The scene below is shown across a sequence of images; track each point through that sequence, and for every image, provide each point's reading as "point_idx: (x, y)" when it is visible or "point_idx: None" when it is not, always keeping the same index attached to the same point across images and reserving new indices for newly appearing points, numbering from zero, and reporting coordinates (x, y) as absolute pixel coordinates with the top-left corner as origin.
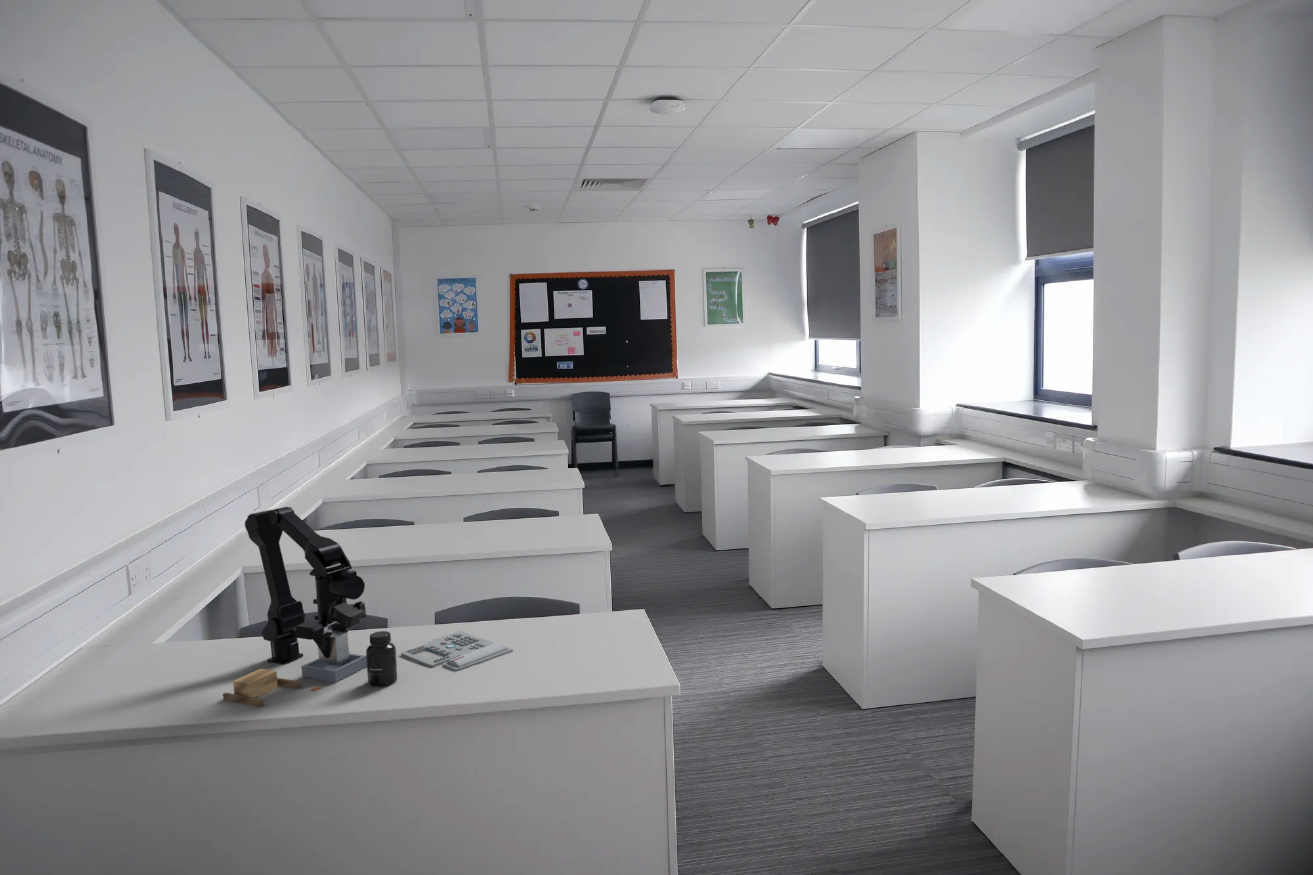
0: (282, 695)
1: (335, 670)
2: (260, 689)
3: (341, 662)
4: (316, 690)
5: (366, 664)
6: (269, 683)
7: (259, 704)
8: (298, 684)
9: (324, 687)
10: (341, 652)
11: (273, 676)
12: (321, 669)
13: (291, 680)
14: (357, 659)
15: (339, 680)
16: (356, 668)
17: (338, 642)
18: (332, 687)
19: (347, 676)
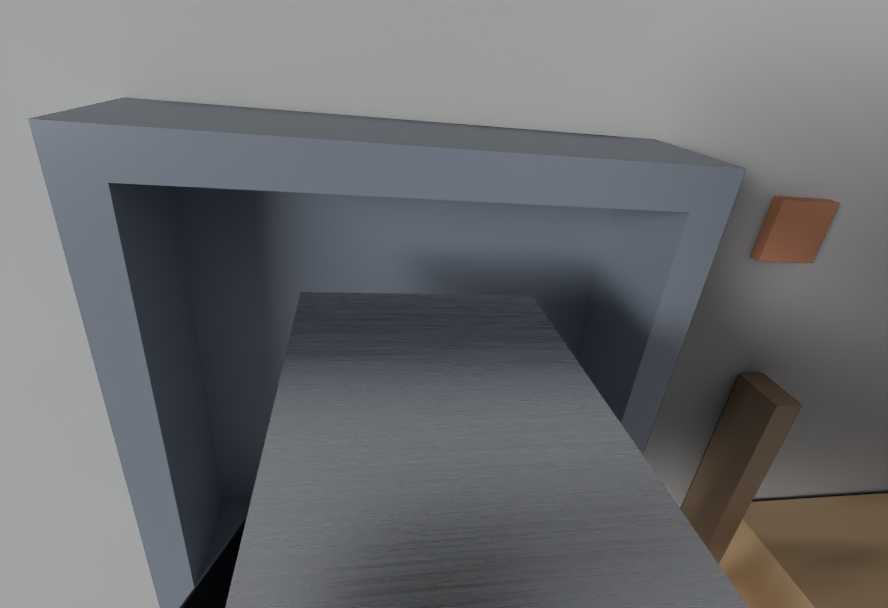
0: (866, 386)
1: (711, 188)
2: (882, 527)
3: (463, 297)
4: (829, 200)
5: (121, 103)
6: (826, 543)
7: None
8: (779, 394)
9: (747, 186)
10: (475, 384)
11: (825, 581)
12: (669, 375)
13: (747, 475)
14: (254, 161)
15: (608, 138)
16: (328, 121)
17: (638, 592)
18: (753, 100)
19: (489, 128)
